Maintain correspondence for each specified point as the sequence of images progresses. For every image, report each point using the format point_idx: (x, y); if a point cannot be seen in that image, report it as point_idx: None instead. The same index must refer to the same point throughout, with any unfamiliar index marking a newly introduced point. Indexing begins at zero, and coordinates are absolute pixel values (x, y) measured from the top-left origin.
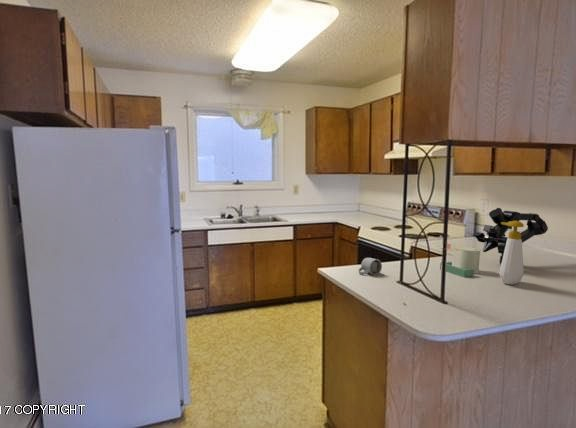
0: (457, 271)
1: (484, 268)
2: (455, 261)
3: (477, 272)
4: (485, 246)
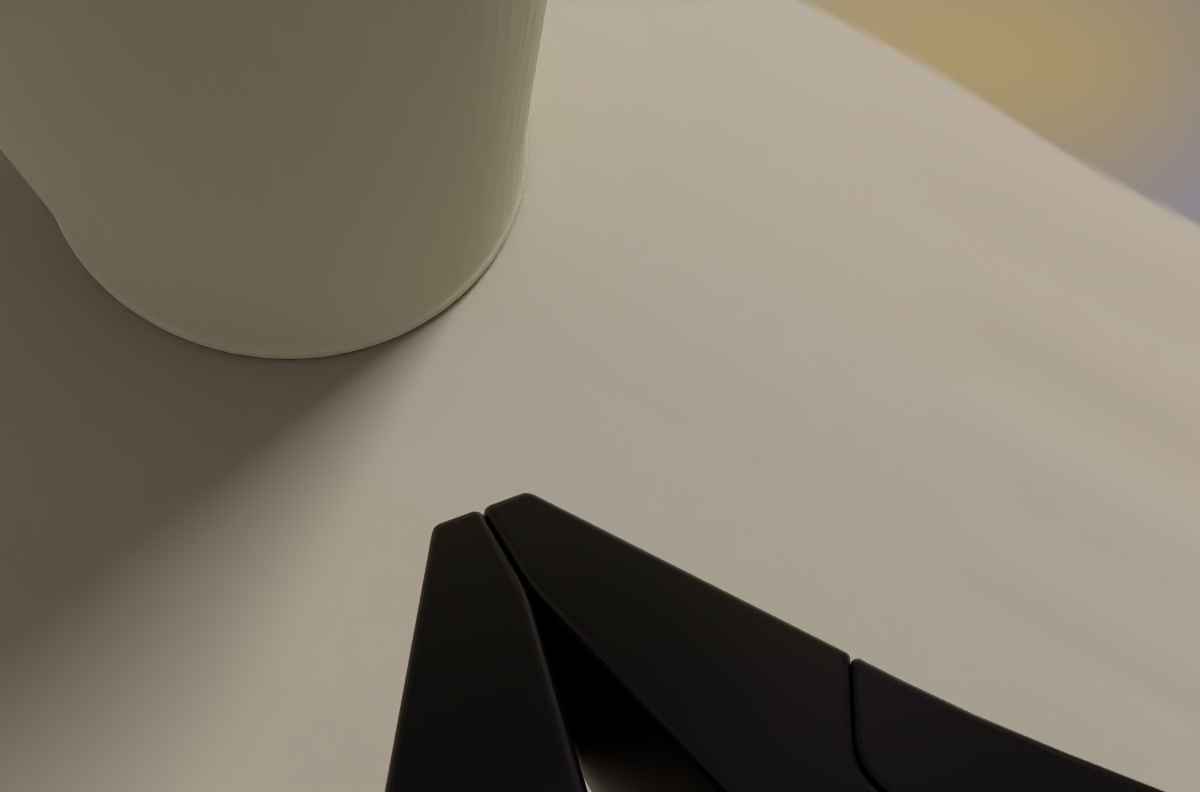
0: None
1: None
2: (1162, 306)
3: (61, 229)
4: (613, 678)
